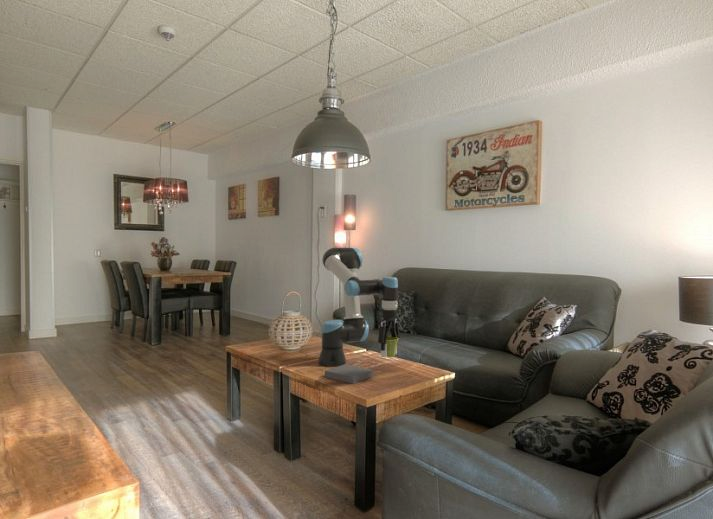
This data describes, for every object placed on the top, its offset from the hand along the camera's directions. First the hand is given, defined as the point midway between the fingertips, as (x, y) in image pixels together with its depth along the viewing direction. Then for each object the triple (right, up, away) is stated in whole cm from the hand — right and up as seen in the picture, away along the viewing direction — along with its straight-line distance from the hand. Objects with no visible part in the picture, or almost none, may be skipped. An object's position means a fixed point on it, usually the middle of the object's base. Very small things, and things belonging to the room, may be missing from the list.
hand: (388, 355), depth 207 cm
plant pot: (0, -1, 0) cm, 1 cm away
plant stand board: (-20, -11, +2) cm, 23 cm away
